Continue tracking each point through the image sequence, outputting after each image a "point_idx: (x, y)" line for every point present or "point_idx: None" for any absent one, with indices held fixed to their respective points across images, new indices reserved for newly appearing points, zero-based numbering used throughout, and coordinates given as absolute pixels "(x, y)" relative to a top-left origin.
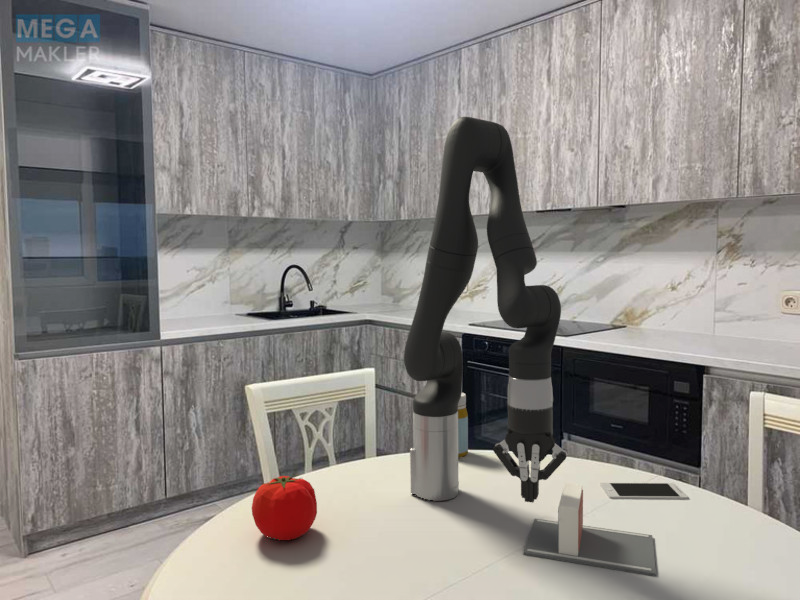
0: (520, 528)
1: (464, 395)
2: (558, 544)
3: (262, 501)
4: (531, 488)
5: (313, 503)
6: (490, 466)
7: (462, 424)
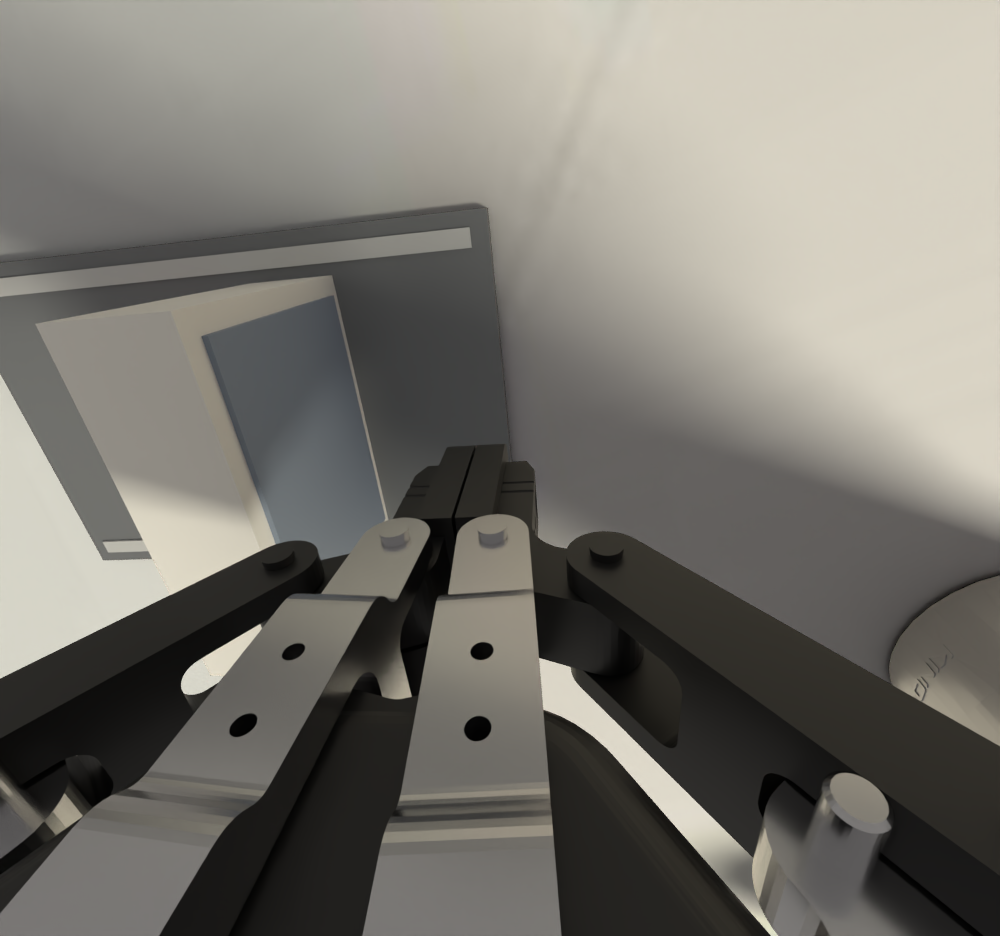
0: (560, 460)
1: None
2: (324, 296)
3: None
4: (441, 491)
5: None
6: None
7: None
